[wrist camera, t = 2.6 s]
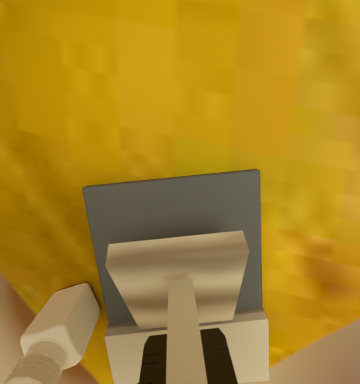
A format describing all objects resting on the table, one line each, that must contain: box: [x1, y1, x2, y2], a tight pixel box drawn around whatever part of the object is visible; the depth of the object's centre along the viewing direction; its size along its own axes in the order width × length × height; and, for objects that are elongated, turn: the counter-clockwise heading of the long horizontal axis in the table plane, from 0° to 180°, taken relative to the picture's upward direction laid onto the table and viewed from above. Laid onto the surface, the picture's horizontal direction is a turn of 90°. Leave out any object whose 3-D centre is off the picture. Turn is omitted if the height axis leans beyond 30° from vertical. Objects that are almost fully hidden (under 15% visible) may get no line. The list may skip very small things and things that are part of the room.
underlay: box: [82, 169, 269, 384], centre depth 24 cm, size 22×16×3 cm
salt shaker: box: [4, 283, 100, 384], centre depth 20 cm, size 4×4×10 cm
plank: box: [105, 230, 249, 330], centre depth 20 cm, size 12×9×2 cm
